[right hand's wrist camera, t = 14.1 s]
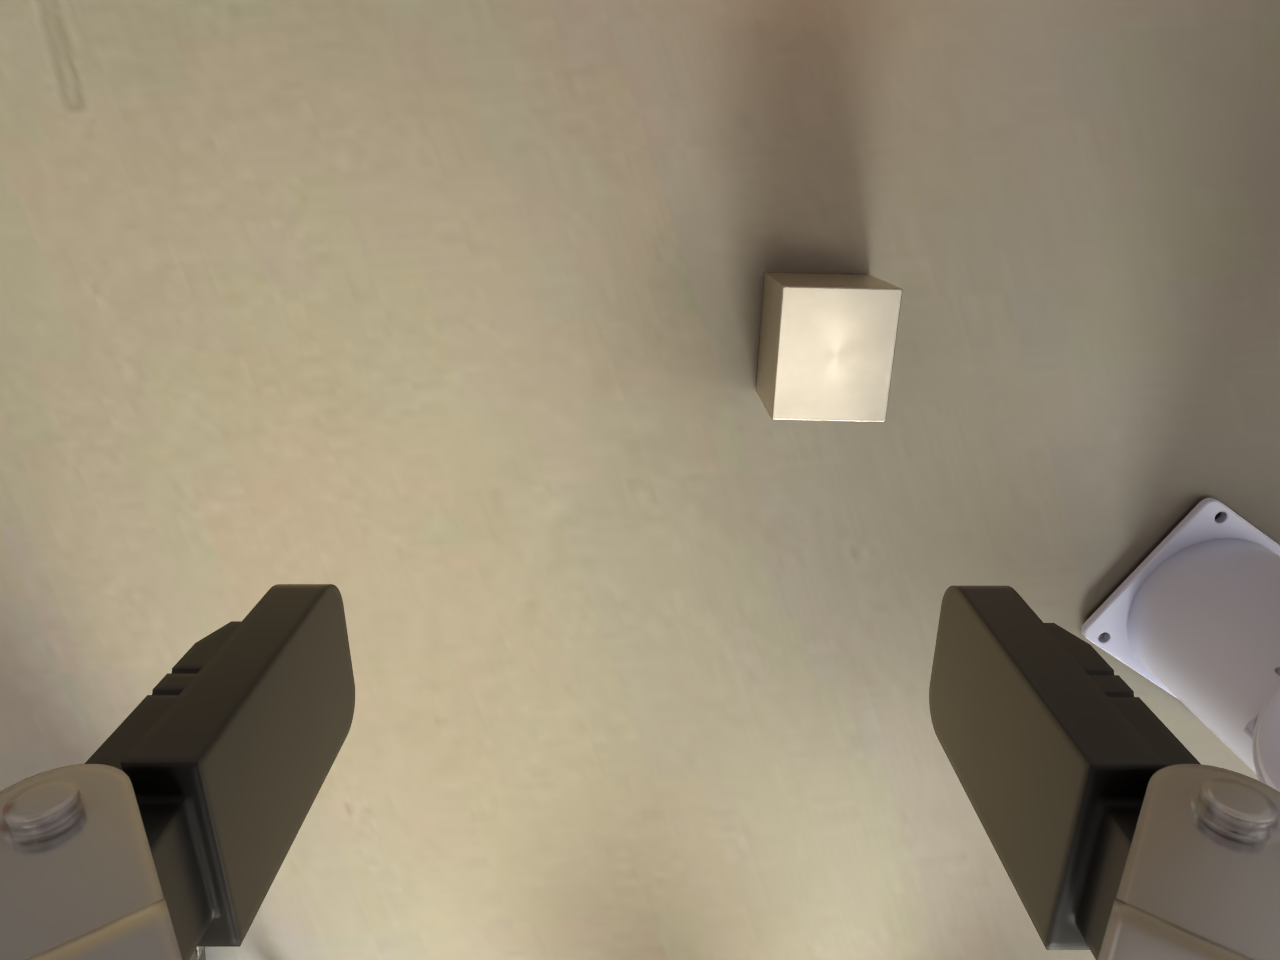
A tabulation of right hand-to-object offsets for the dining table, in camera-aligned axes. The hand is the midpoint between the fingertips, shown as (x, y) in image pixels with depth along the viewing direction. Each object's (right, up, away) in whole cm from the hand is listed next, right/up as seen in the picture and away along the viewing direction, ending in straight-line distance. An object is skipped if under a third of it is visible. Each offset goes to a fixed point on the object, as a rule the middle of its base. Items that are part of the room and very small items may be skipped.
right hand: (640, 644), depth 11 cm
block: (+7, +8, +22) cm, 25 cm away
